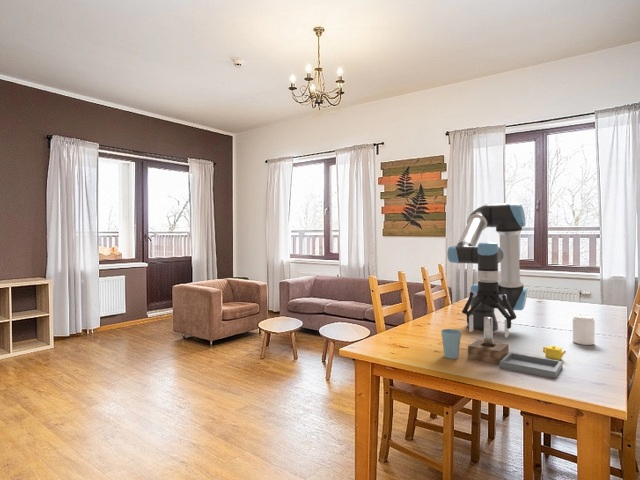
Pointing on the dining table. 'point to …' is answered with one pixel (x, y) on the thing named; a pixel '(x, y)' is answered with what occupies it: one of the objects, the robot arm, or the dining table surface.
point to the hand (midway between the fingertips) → (488, 333)
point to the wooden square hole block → (487, 351)
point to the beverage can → (583, 329)
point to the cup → (451, 342)
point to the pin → (488, 331)
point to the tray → (532, 365)
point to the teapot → (553, 352)
